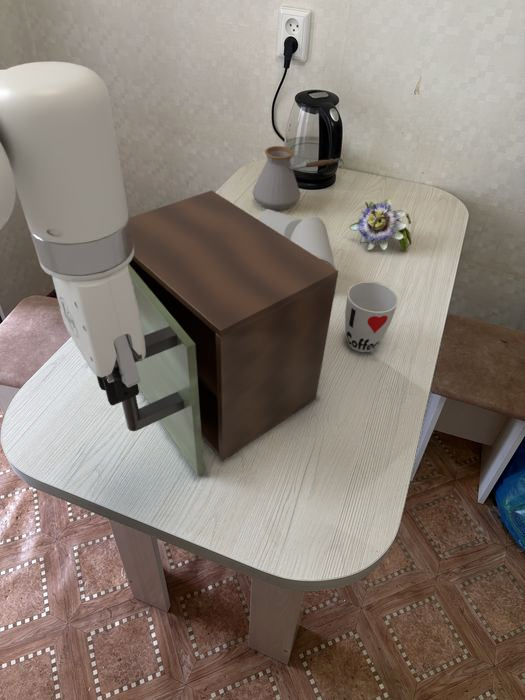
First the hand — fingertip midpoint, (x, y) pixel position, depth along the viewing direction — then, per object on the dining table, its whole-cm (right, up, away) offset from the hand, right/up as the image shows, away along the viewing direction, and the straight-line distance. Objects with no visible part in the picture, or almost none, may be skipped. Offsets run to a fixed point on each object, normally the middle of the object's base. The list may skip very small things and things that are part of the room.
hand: (119, 390), depth 53 cm
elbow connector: (+22, +21, +50) cm, 59 cm away
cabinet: (+8, 0, +27) cm, 28 cm away
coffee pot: (+23, +38, +68) cm, 81 cm away
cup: (+32, +5, +35) cm, 48 cm away
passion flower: (+41, +28, +59) cm, 77 cm away
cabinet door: (-3, -6, +20) cm, 21 cm away
